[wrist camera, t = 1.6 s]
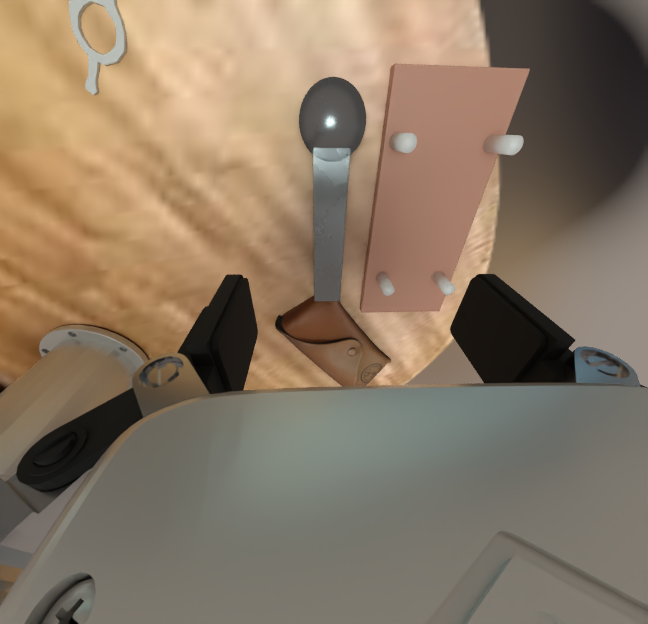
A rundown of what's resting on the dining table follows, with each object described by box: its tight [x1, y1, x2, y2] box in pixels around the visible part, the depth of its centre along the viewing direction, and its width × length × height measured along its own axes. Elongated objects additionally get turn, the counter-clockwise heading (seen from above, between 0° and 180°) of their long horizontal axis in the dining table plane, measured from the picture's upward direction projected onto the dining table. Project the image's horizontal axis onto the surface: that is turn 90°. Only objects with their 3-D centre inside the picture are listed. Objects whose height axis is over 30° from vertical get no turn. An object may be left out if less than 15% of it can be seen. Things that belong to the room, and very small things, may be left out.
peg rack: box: [360, 64, 530, 312], centre depth 23 cm, size 22×10×4 cm, turn 179°
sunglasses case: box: [275, 296, 391, 387], centre depth 34 cm, size 18×7×7 cm, turn 37°
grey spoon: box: [299, 77, 366, 301], centre depth 23 cm, size 18×5×3 cm, turn 179°
